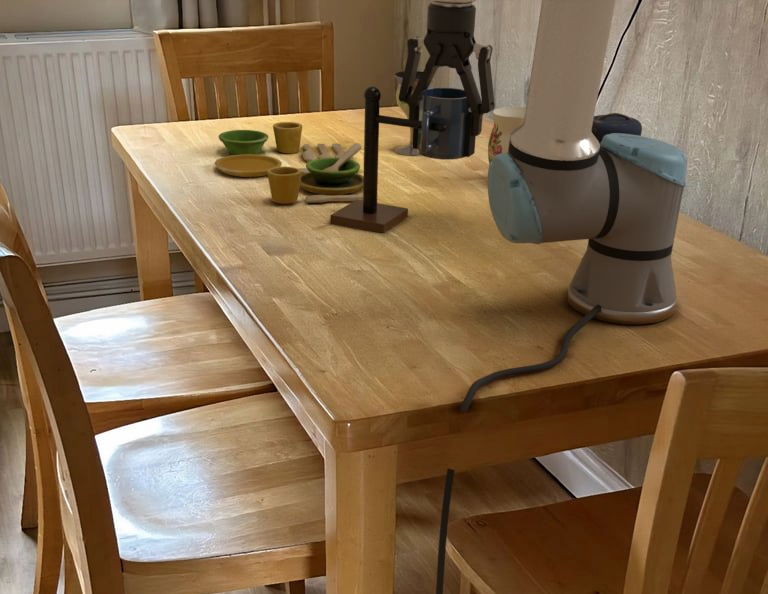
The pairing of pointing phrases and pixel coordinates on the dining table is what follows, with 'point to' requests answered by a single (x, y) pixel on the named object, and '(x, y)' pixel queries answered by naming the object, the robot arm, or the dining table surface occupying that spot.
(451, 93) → the mug
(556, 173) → the robot arm
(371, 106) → the cup holder
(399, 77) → the wine glass
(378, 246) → the dining table surface
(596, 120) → the canister
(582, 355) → the dining table surface
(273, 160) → the tableware set
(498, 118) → the pitcher
